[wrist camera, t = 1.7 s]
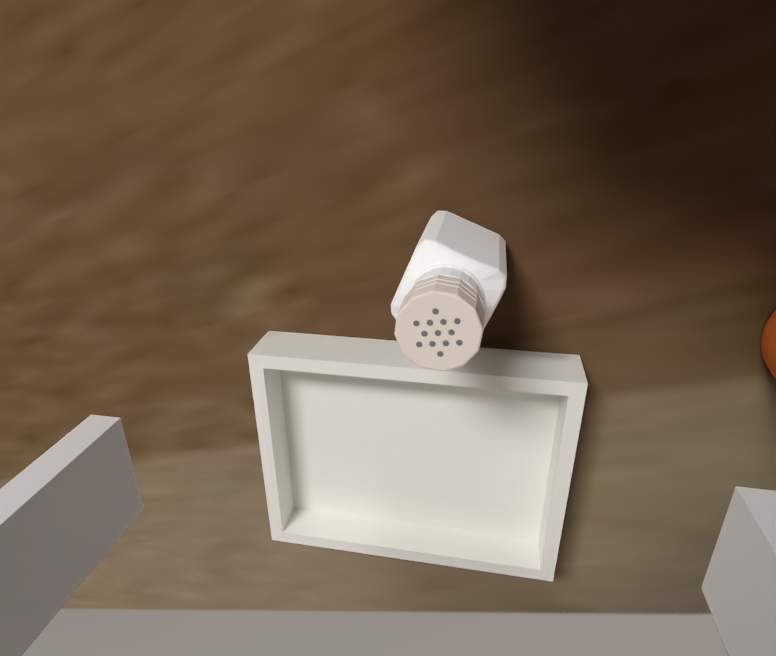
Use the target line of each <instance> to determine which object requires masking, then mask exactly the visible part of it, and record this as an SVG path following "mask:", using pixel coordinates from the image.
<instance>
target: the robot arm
mask: <svg viewBox="0 0 776 656" xmlns="http://www.w3.org/2000/svg"><path fill="white" fill-rule="evenodd" d="M143 509H144V507H143V503H142V500H141V496H140V492H139V488H138V484H137V480H136V476H135V473H134V469H133V465H132V461H131V457H130V453H129V449H128V446H127V442H126V438H125V434H124V430H123V426H122V422H121V419H120V418H116V417H107V416H98V415H90V416H89V417H88V418H87V419H85V420H84V421H83V422H82V423H80V424H79V425H78V426H77V427H76V428H74V429H73V430H72V431H71V432H69V433H68V434H67V435H66V436H65V437H63V438H62V439H61V440H60V441H58V442H57V443H56V444H55V445H54V446H52V447H51V448H50V449H49V450H47V451H46V452H45V453H44V454H43V455H41V456H40V457H39V458H38V459H36V460H35V461H34V462H33V463H32V464H30V465H29V466H28V467H27V468H25V469H24V470H23V471H22V472H21V473H19V474H18V475H17V476H16V477H14V478H13V479H12V480H11V481H10V482H8V483H7V484H6V485H5V486H3V487H2V488H1V489H0V656H22V654H24V652H25V651H26V650H27V649H28V647H29V646H30V645H31V644H32V643H33V641H34V640H35V639H36V638H37V637H38V635H39V634H40V633H41V632H42V631H43V629H44V628H45V627H46V626H47V625H48V623H49V622H50V621H51V620H52V619H53V617H54V616H55V615H56V614H57V612H58V611H59V610H60V609H61V608H62V607H63V605H64V604H65V603H66V602H67V601H68V599H69V598H70V597H71V596H72V594H73V593H74V592H75V591H76V590H77V588H78V587H79V586H80V585H81V584H82V582H83V581H84V580H85V579H86V578H87V576H88V575H89V574H90V573H91V572H92V570H93V569H94V568H95V567H96V566H97V564H98V563H99V562H100V561H101V560H102V558H103V557H104V556H105V555H106V554H107V552H108V551H109V550H110V549H111V547H112V546H113V545H114V544H115V543H116V541H117V540H118V539H119V538H120V537H121V535H122V534H123V533H124V532H125V531H126V529H127V528H128V527H129V526H130V525H131V523H132V522H133V521H134V520H135V519H136V517H137V516H138V515H139V514H140V513H141V511H142V510H143ZM701 588H702V591H703V593H704V596H705V598H706V601H707V603H708V606H709V608H710V611H711V613H712V616H713V618H714V621H715V623H716V625H717V628H718V631H719V633H720V636H721V638H722V641H723V643H724V646H725V648H726V650H727V653H728V655H729V656H776V491H773V490H764V489H755V488H746V487H737V486H736V487H735V490H734V493H733V496H732V499H731V502H730V505H729V508H728V511H727V514H726V517H725V519H724V522H723V525H722V528H721V531H720V534H719V537H718V540H717V543H716V546H715V549H714V552H713V555H712V558H711V561H710V563H709V566H708V569H707V572H706V575H705V578H704V581H703V584H702V587H701Z"/></svg>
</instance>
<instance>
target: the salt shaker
mask: <svg viewBox="0 0 776 656" xmlns="http://www.w3.org/2000/svg"><path fill="white" fill-rule="evenodd" d="M506 281H507V266H506V242H505V240H504V239H503V238H502V237H501V236H500V235H499V234H497V233H495V232H493V231H490V230H488V229H486V228H484V227H481V226H479V225H477V224H475V223H473V222H470V221H468V220H466V219H464V218H461V217H459V216H457V215H455V214H453V213H450V212H448V211H437V212H436V213H435V214H434V215H433V216H432V217H431V218H430V220H429V222H428V224H427V226H426V228H425V230H424V232H423V234H422V236H421V238H420V240H419V242H418V244H417V246H416V249H415V251H414V253H413V255H412V258H411V260H410V262H409V264H408V267H407V269H406V271H405V273H404V276H403V278H402V280H401V282H400V285H399V287H398V289H397V291H396V294H395V296H394V298H393V301H392V303H391V313H392V315H393V316H394V317H395V319H396V326H395V333H394V334H395V337H396V339H397V341H398V343H399V346H400V348H401V350H402V352H403V354H404V355H405V356H407V357H408V358H409V359H411V360H412V361H413V362H414V363H416V364H417V365H418V366H420V367H422V368H427V369H432V370H437V371H446V370H450V369H453V368H457V367H461V366H464V365H465V364H466V363H467V362H468V361H469V360H470V359H471V358H472V357H473V356H474V355H475V354H476V353H477V352H478V351H479V349H480V344H481V340H482V335H483V331H484V328H485V326H486V325H487V323H488V321H489V319H490V318H491V316H492V314H493V312H494V310H495V308H496V306H497V304H498V302H499V300H500V298H501V296H502V294H503V292H504V290H505V288H506Z"/></svg>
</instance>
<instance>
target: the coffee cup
mask: <svg viewBox="0 0 776 656" xmlns="http://www.w3.org/2000/svg"><path fill="white" fill-rule="evenodd" d="M760 347H761V354H762V357H763V359H764V362H765V364H766V366H767V367H768V369H769V370H770V372H771V374H772V375H773V376H774V378H775V379H776V308H775V310H774V311H773V312H772V313H771V315H770V316H769V318H768V319H767V321H766V323H765V325H764V328H763V330H762V334H761V340H760Z"/></svg>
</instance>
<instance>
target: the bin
mask: <svg viewBox="0 0 776 656" xmlns="http://www.w3.org/2000/svg"><path fill="white" fill-rule="evenodd" d="M248 361H249V369H250V376H251V384H252V391H253V399H254V406H255V414H256V422H257V429H258V437H259V444H260V452H261V459H262V467H263V475H264V482H265V490H266V497H267V505H268V513H269V520H270V528H271V535H272V540H277V541H284V542H291V543H298V544H304V545H311V546H318V547H324V548H331V549H338V550H344V551H351V552H358V553H365V554H371V555H378V556H385V557H391V558H398V559H405V560H411V561H418V562H425V563H432V564H438V565H445V566H452V567H458V568H465V569H472V570H478V571H485V572H492V573H499V574H505V575H512V576H519V577H525V578H532V579H539V580H546V581H552V582H553V578H554V572H555V567H556V561H557V555H558V550H559V544H560V538H561V533H562V527H563V521H564V516H565V510H566V505H567V499H568V493H569V488H570V482H571V476H572V471H573V465H574V459H575V454H576V448H577V442H578V437H579V431H580V425H581V420H582V414H583V409H584V403H585V397H586V392H587V386H588V382H587V379H586V375H585V372H584V369H583V365H582V362H581V358H580V355H571V354H559V353H546V352H533V351H520V350H508V349H495V348H482V347H480V349H479V351H478V352H477V353H476V354H475V355H474V356H473V357H472V358H471V359H470V360H469V361H468V362H467V363H466V364H465V365H464V366H461V367H457V368H453V369H450V370H446V371H437V370H432V369H427V368H422V367H420V366H418V365H417V364H416V363H414V362H413V361H412V360H411V359H409V358H408V357H407V356H405V355H404V354H403V352H402V350H401V348H400V346H399V343H398V341H393V340H380V339H367V338H355V337H342V336H329V335H316V334H304V333H291V332H278V331H268V332H267V333H266V335H265V336H264V337H263V338H262V339H261V340H260V341H259V342H258V343H257V344H256V345H255V347H254V348H253V349H252V350H251V351H250V352H249V353H248Z"/></svg>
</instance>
